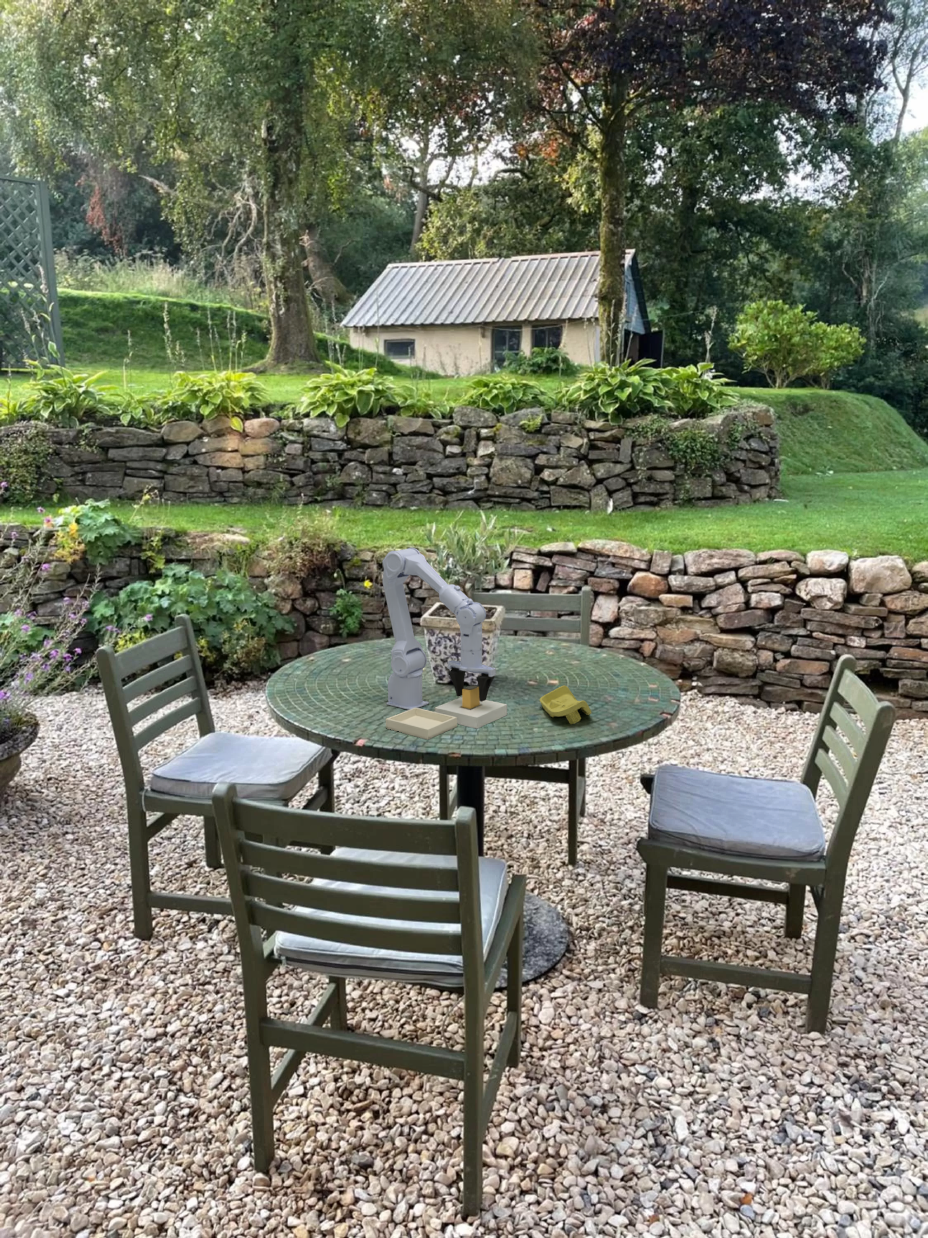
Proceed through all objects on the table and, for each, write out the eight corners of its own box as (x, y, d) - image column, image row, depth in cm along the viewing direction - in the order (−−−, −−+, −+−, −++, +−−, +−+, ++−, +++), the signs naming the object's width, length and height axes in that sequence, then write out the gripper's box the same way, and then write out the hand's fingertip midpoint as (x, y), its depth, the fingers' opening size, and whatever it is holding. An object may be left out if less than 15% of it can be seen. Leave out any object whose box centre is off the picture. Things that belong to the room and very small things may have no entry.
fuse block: (434, 718, 222) (434, 707, 221) (465, 705, 233) (465, 695, 232) (477, 728, 214) (477, 717, 213) (506, 715, 225) (507, 704, 224)
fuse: (462, 717, 222) (462, 688, 221) (471, 713, 226) (471, 684, 224) (470, 719, 221) (470, 690, 219) (479, 715, 224) (479, 686, 223)
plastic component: (537, 698, 232) (568, 682, 233) (548, 721, 233) (579, 704, 234) (554, 715, 213) (588, 697, 213) (566, 740, 214) (600, 722, 215)
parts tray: (385, 728, 214) (385, 718, 213) (415, 716, 223) (415, 707, 223) (428, 739, 206) (427, 729, 205) (456, 726, 215) (456, 717, 215)
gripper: (440, 648, 221) (440, 696, 223) (484, 655, 212) (484, 706, 215) (456, 643, 226) (456, 690, 229) (500, 650, 218) (500, 700, 220)
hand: (471, 698), depth 222 cm, fingers open, 7 cm apart
